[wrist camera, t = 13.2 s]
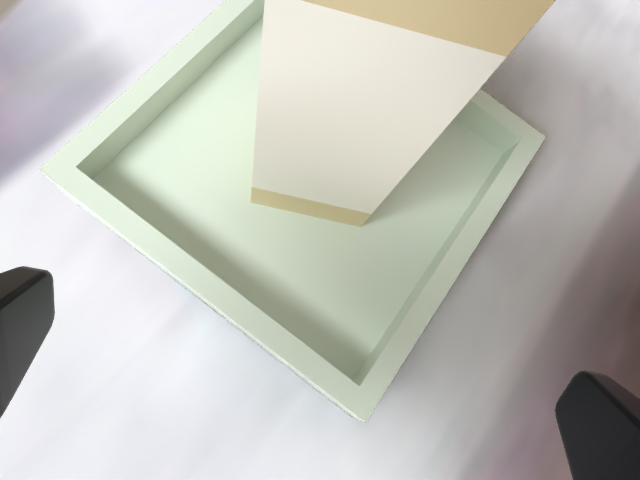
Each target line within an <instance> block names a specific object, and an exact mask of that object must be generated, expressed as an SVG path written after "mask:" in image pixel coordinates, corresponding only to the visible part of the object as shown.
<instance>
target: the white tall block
mask: <svg viewBox="0 0 640 480" xmlns="http://www.w3.org/2000/svg"><path fill="white" fill-rule="evenodd" d="M554 2H555V0H265V2H264V16H263V30H262V45H261V59H260V73H259V88H258V102H257V116H256V130H255V145H254V159H253V173H252V188H251V202H250V203H254V204H259V205H263V206H268V207H272V208H277V209H281V210H286V211H290V212H295V213H299V214H304V215H308V216H313V217H317V218H322V219H326V220H331V221H335V222H340V223H344V224H349V225H353V226H358V227H361V226H362V225H363V224H364V223H365V221H366V220H367V219H368V218H369V217H370V216H371V214H372V213H373V212H374V211H375V210H376V209H377V207H378V206H379V205H380V204H381V203H382V202H383V200H384V199H385V198H386V197H387V196H388V195H389V193H390V192H391V191H392V190H393V189H394V188H395V186H396V185H397V184H398V183H399V182H400V181H401V179H402V178H403V177H404V176H405V175H406V174H407V173H408V171H409V170H410V169H411V168H412V167H413V166H414V164H415V163H416V162H417V161H418V160H419V159H420V157H421V156H422V155H423V154H424V153H425V152H426V150H427V149H428V148H429V147H430V146H431V145H432V143H433V142H434V141H435V140H436V139H437V138H438V136H439V135H440V134H441V133H442V132H443V131H444V130H445V128H446V127H447V126H448V125H449V124H450V123H451V121H452V120H453V119H454V118H455V117H456V116H457V114H458V113H459V112H460V111H461V110H462V109H463V107H464V106H465V105H466V104H467V103H468V102H469V100H470V99H471V98H472V97H473V96H474V95H475V93H476V92H477V91H478V90H479V89H480V88H481V86H482V85H483V84H484V83H485V82H486V81H487V80H488V78H489V77H490V76H491V75H492V74H493V73H494V71H495V70H496V69H497V68H498V67H499V66H500V64H501V63H502V62H503V61H504V60H505V59H506V57H507V56H508V55H509V54H510V53H511V52H512V50H513V49H514V48H515V47H516V46H517V45H518V43H519V42H520V41H521V40H522V39H523V38H524V37H525V35H526V34H527V33H528V32H529V31H530V30H531V28H532V27H533V26H534V25H535V24H536V23H537V21H538V20H539V19H540V18H541V17H542V16H543V14H544V13H545V12H546V11H547V10H548V9H549V7H550V6H551V5H552V4H553V3H554Z"/></svg>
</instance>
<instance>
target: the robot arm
mask: <svg viewBox="0 0 640 480" xmlns="http://www.w3.org/2000/svg"><path fill="white" fill-rule="evenodd" d="M54 314H55V309H54V288H53V277H52V275H51V273H50V272H48V271H47V270H42V269H37V268H31V267H25V266H22V267H17V268H14V269H12V270H9V271H6V272H3V273H0V418H1V416H2V415H3V413H4V412H5V410H6V408H7V407H8V405H9V403H10V401H11V400H12V398H13V396H14V394H15V392H16V391H17V389H18V387H19V385H20V383H21V381H22V380H23V378H24V376H25V374H26V372H27V370H28V369H29V367H30V365H31V363H32V361H33V359H34V358H35V356H36V354H37V352H38V350H39V348H40V347H41V345H42V343H43V341H44V339H45V337H46V336H47V334H48V332H49V330H50V328H51V326H52V323H53V320H54ZM555 413H556V419H557V422H558V426H559V430H560V434H561V437H562V441H563V445H564V448H565V452H566V456H567V459H568V463H569V467H570V470H571V474H572V478H573V480H640V399H639V398H637V397H636V396H635V395H633V394H632V393H630V392H629V391H627V390H626V389H625V388H623V387H622V386H620V385H619V384H618V383H616V382H615V381H613V380H612V379H611V378H609V377H608V376H606V375H603V374H600V373H594V372H589V371H580V372H578V373H577V374H576V375H575V376H574V377H573V379H572V380H571V382H570V383H569V385H568V386H567V388H566V389H565V390H564V392H563V393H562V395H561V396H560V398H559V399H558V401H557V404H556V409H555Z"/></svg>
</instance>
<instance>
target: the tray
mask: <svg viewBox="0 0 640 480" xmlns="http://www.w3.org/2000/svg"><path fill="white" fill-rule="evenodd" d="M264 2H265V0H225V1H224V2H223V3H222V4H221V5H220V6H219V7H218V8H217V9H215V10H214V11H213V12H212V13H211V14H210V15H209V16H208V17H207V18H206V19H204V20H203V21H202V22H201V23H200V24H199V25H198V26H197V27H196V28H194V29H193V30H192V31H191V32H190V33H189V34H188V35H187V36H186V37H184V38H183V39H182V40H181V41H180V42H179V43H178V44H177V45H176V46H175V47H173V48H172V49H171V50H170V51H169V52H168V53H167V54H166V55H165V56H163V57H162V58H161V59H160V60H159V61H158V62H157V63H156V64H155V65H153V66H152V67H151V68H150V69H149V70H148V71H147V72H146V73H145V74H144V75H142V76H141V77H140V78H139V79H138V80H137V81H136V82H135V83H134V84H132V85H131V86H130V87H129V88H128V89H127V90H126V91H125V92H124V93H123V94H121V95H120V96H119V97H118V98H117V99H116V100H115V101H114V102H113V103H111V104H110V105H109V106H108V107H107V108H106V109H105V110H104V111H103V112H101V113H100V114H99V115H98V116H97V117H96V118H95V119H94V120H93V121H92V122H90V123H89V124H88V125H87V126H86V127H85V128H84V129H83V130H82V131H80V132H79V133H78V134H77V135H76V136H75V137H74V138H73V139H72V140H70V141H69V142H68V143H67V144H66V145H65V146H64V147H63V148H62V149H61V150H59V151H58V152H57V153H56V154H55V155H54V156H53V157H52V158H51V159H49V160H48V161H47V162H46V163H45V164H44V165H43V166H42V167H41V168H39V170H40V171H41V172H42V173H43V174H44V175H45V176H46V177H47V178H48V179H49V180H50V181H51V182H52V183H53V184H54V185H55V186H56V187H57V188H58V189H59V190H60V191H61V192H62V193H63V194H65V195H66V196H67V197H69V198H70V199H71V200H72V201H74V202H75V203H76V204H78V205H79V206H80V207H82V208H83V209H84V210H85V211H87V212H88V213H89V214H91V215H92V216H93V217H94V218H96V219H97V220H98V221H100V222H101V223H102V224H103V225H105V226H106V227H107V228H109V229H110V230H111V231H113V232H114V233H115V234H116V235H118V236H119V237H120V238H122V239H123V240H124V241H125V242H127V243H128V244H129V245H131V246H132V247H133V248H134V249H136V250H137V251H138V252H140V253H141V254H142V255H143V256H145V257H146V258H147V259H149V260H150V261H151V262H153V263H154V264H155V265H156V266H158V267H159V268H160V269H162V270H163V271H164V272H165V273H167V274H168V275H169V276H171V277H172V278H173V279H174V280H176V281H177V282H178V283H180V284H181V285H182V286H184V287H185V288H186V289H187V290H189V291H190V292H191V293H193V294H194V295H195V296H196V297H198V298H199V299H200V300H202V301H203V302H204V303H205V304H207V305H208V306H209V307H211V308H212V309H213V310H214V311H216V312H217V313H218V314H220V315H221V316H222V317H224V318H225V319H226V320H227V321H229V322H230V323H231V324H233V325H234V326H235V327H236V328H238V329H239V330H240V331H242V332H243V333H244V334H245V335H247V336H248V337H249V338H251V339H252V340H253V341H255V342H256V343H257V344H258V345H260V346H261V347H262V348H264V349H265V350H266V351H267V352H269V353H270V354H271V355H273V356H274V357H275V358H276V359H278V360H279V361H280V362H282V363H283V364H284V365H285V366H287V367H288V368H289V369H291V370H292V371H293V372H295V373H296V374H297V375H298V376H300V377H301V378H302V379H304V380H305V381H306V382H307V383H309V384H310V385H311V386H313V387H314V388H315V389H316V390H318V391H319V392H320V393H322V394H323V395H324V396H326V397H327V398H328V399H329V400H331V401H332V402H333V403H335V404H336V405H337V406H338V407H340V408H341V409H342V410H344V411H345V412H346V413H347V414H349V415H350V416H351V417H354V418H356V419H358V420H361V421H363V422H365V423H366V421H367V420H368V418H369V417H370V415H371V413H372V412H373V410H374V409H375V407H376V406H377V404H378V402H379V401H380V399H381V398H382V396H383V394H384V393H385V391H386V390H387V388H388V387H389V385H390V383H391V382H392V380H393V379H394V377H395V375H396V374H397V372H398V371H399V369H400V367H401V366H402V364H403V363H404V361H405V360H406V358H407V356H408V355H409V353H410V352H411V350H412V348H413V347H414V345H415V344H416V342H417V341H418V339H419V337H420V336H421V334H422V333H423V331H424V329H425V328H426V326H427V325H428V323H429V321H430V320H431V318H432V317H433V315H434V314H435V312H436V310H437V309H438V307H439V306H440V304H441V302H442V301H443V299H444V298H445V296H446V295H447V293H448V291H449V290H450V288H451V287H452V285H453V283H454V282H455V280H456V279H457V277H458V276H459V274H460V272H461V271H462V269H463V268H464V266H465V264H466V263H467V261H468V260H469V258H470V256H471V255H472V253H473V252H474V250H475V249H476V247H477V245H478V244H479V242H480V241H481V239H482V237H483V236H484V234H485V233H486V231H487V230H488V228H489V226H490V225H491V223H492V222H493V220H494V218H495V217H496V215H497V214H498V212H499V211H500V209H501V207H502V206H503V204H504V203H505V201H506V199H507V198H508V196H509V195H510V193H511V191H512V190H513V188H514V187H515V185H516V184H517V182H518V180H519V179H520V177H521V176H522V174H523V172H524V171H525V169H526V168H527V166H528V165H529V163H530V161H531V160H532V158H533V157H534V155H535V153H536V152H537V150H538V149H539V147H540V145H541V144H542V142H543V141H544V139H545V138H546V136H544V135H543V134H541V133H540V132H539V131H537V130H536V129H535V128H533V127H532V126H531V125H529V124H528V123H527V122H525V121H524V120H523V119H521V118H520V117H519V116H517V115H516V114H514V113H513V112H512V111H510V110H509V109H508V108H506V107H505V106H504V105H502V104H501V103H500V102H498V101H497V100H496V99H494V98H493V97H492V96H490V95H489V94H487V93H486V92H485V91H483V90H482V89H481V88H480V89H479V90H478V91H477V92H476V93H475V95H474V96H473V97H472V98H471V99H470V100H469V102H468V103H467V104H466V105H465V106H464V107H463V109H462V110H461V111H460V112H459V113H458V114H457V116H456V117H455V118H454V119H453V120H452V121H451V123H450V124H449V125H448V126H447V127H446V128H445V130H444V131H443V132H442V133H441V134H440V135H439V136H438V138H437V139H436V140H435V141H434V142H433V143H432V145H431V146H430V147H429V148H428V149H427V150H426V152H425V153H424V154H423V155H422V156H421V157H420V159H419V160H418V161H417V162H416V163H415V164H414V166H413V167H412V168H411V169H410V170H409V171H408V173H407V174H406V175H405V176H404V177H403V178H402V179H401V181H400V182H399V183H398V184H397V185H396V186H395V188H394V189H393V190H392V191H391V192H390V193H389V195H388V196H387V197H386V198H385V199H384V200H383V202H382V203H381V204H380V205H379V206H378V207H377V209H376V210H375V211H374V212H373V213H372V214H371V216H370V217H369V218H368V219H367V220H366V221H365V223H364V224H363V225H362V226H361V227H358V226H353V225H349V224H344V223H340V222H335V221H331V220H326V219H322V218H317V217H313V216H308V215H304V214H299V213H295V212H290V211H286V210H281V209H277V208H272V207H268V206H263V205H259V204H254V203H250V202H251V188H252V173H253V159H254V145H255V130H256V116H257V102H258V88H259V73H260V59H261V45H262V30H263V16H264Z"/></svg>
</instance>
